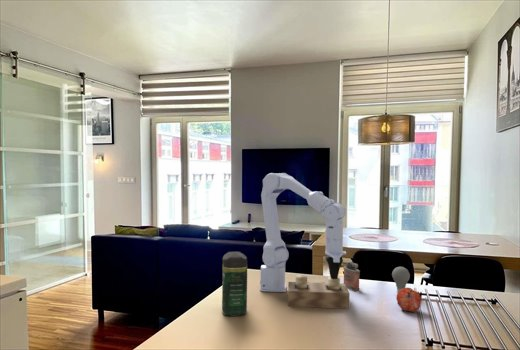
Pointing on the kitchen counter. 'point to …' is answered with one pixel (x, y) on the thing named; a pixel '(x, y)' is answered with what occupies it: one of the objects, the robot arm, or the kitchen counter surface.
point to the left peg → (301, 282)
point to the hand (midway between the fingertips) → (333, 278)
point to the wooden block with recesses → (318, 296)
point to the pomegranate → (408, 299)
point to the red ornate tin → (351, 276)
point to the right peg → (333, 284)
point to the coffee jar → (234, 284)
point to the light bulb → (400, 277)
